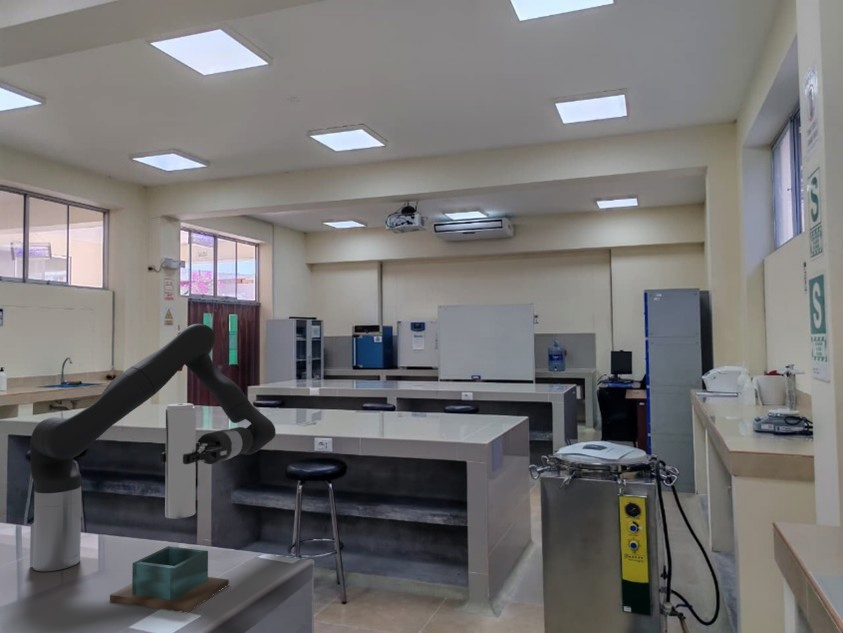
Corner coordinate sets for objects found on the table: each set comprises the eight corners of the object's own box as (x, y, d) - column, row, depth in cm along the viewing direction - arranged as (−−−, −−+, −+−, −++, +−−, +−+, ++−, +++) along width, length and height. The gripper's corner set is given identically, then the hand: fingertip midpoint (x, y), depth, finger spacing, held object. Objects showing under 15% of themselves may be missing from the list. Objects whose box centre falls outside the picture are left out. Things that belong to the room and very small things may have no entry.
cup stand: (109, 601, 117) (110, 563, 117) (157, 575, 129) (157, 542, 129) (186, 612, 111) (187, 573, 112) (228, 585, 124) (228, 550, 124)
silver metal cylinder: (184, 519, 131) (185, 405, 132) (158, 518, 132) (159, 405, 133) (201, 511, 137) (201, 402, 138) (176, 509, 139) (176, 402, 140)
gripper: (196, 429, 151) (147, 440, 135) (245, 432, 147) (200, 443, 131) (195, 459, 151) (146, 473, 135) (244, 462, 147) (200, 477, 131)
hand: (173, 458), depth 133 cm, fingers closed on silver metal cylinder, 5 cm apart
